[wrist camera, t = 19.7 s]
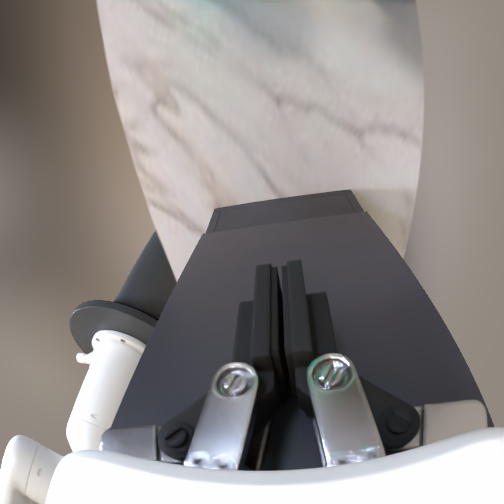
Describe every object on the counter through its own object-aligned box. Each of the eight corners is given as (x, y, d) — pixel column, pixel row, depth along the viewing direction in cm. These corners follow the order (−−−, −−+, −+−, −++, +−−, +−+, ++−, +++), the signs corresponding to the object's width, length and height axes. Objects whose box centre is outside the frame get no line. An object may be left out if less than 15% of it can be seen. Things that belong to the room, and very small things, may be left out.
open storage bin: (348, 322, 37) (354, 351, 32) (252, 333, 39) (250, 362, 35) (350, 189, 26) (365, 212, 22) (214, 208, 28) (204, 235, 24)
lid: (497, 472, 4) (507, 465, 3) (97, 496, 6) (86, 490, 5) (366, 219, 21) (366, 211, 21) (204, 241, 24) (202, 233, 23)
